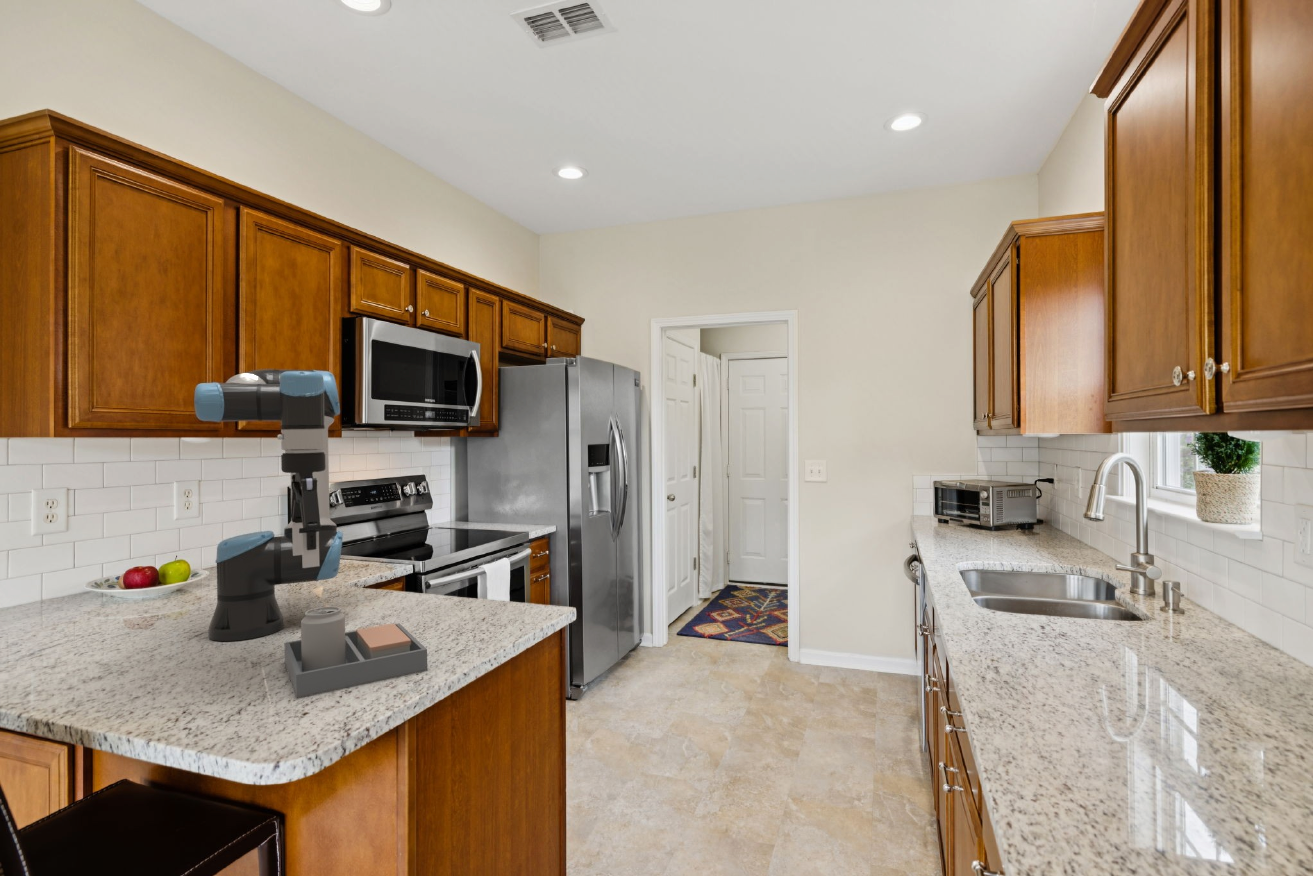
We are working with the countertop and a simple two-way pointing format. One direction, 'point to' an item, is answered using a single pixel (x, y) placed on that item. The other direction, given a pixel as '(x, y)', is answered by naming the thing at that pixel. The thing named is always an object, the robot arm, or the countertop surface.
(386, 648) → the two-tone square sponge
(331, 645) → the can
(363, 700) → the countertop surface
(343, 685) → the tray
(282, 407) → the robot arm
